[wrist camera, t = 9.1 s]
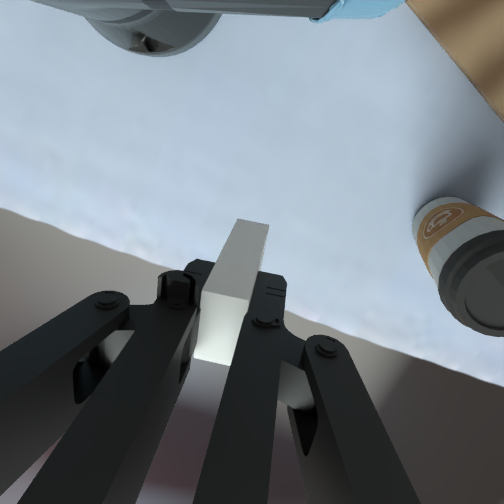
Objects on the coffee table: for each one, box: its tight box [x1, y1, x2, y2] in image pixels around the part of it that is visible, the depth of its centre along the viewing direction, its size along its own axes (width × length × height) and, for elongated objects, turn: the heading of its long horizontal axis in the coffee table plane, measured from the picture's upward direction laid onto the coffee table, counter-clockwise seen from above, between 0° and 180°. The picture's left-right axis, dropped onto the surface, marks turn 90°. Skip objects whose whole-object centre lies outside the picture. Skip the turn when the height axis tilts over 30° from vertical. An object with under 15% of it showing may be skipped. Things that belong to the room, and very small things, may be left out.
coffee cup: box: [412, 197, 504, 337], centre depth 33 cm, size 8×8×15 cm
